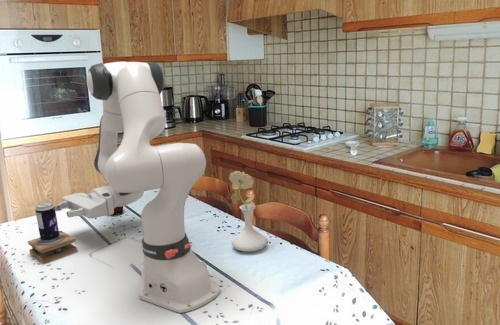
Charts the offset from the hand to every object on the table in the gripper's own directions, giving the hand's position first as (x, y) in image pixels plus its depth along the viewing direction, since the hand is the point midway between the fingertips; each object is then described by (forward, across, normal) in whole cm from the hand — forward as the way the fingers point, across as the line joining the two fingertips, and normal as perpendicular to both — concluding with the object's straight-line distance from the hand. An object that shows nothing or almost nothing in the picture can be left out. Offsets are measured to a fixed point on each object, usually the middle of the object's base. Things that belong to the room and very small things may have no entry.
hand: (61, 211), depth 148 cm
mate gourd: (-28, -17, +13) cm, 35 cm away
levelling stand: (+4, 0, +13) cm, 14 cm away
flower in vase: (-38, +47, +13) cm, 62 cm away
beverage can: (+5, 0, +8) cm, 10 cm away
